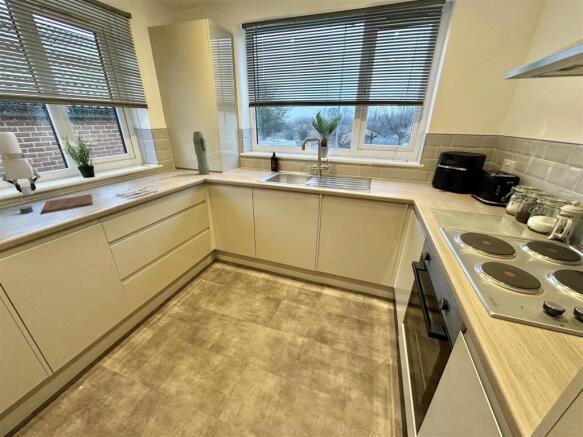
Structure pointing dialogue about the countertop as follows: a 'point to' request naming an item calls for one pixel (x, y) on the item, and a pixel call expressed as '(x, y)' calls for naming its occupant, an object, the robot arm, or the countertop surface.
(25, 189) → the white stone
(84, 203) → the board
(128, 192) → the knife set
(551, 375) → the countertop surface
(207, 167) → the grey statue
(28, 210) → the black stone
